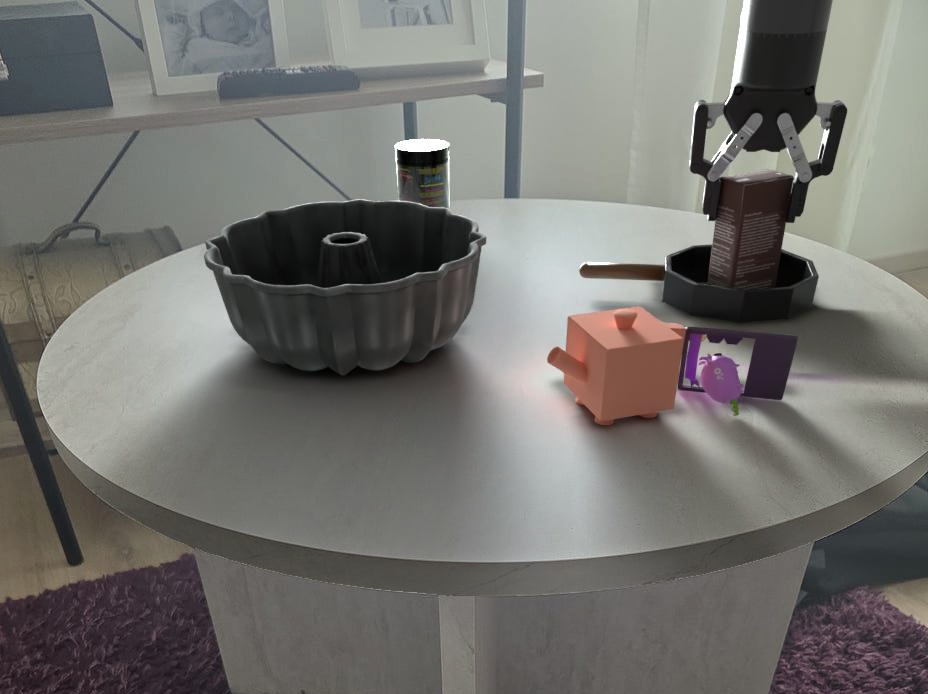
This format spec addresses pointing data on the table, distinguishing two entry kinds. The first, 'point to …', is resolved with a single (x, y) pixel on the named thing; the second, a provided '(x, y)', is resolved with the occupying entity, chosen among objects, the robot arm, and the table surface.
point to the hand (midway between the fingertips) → (750, 219)
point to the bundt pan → (347, 281)
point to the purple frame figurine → (721, 371)
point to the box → (749, 229)
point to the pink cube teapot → (621, 362)
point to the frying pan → (717, 301)
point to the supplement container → (423, 172)
